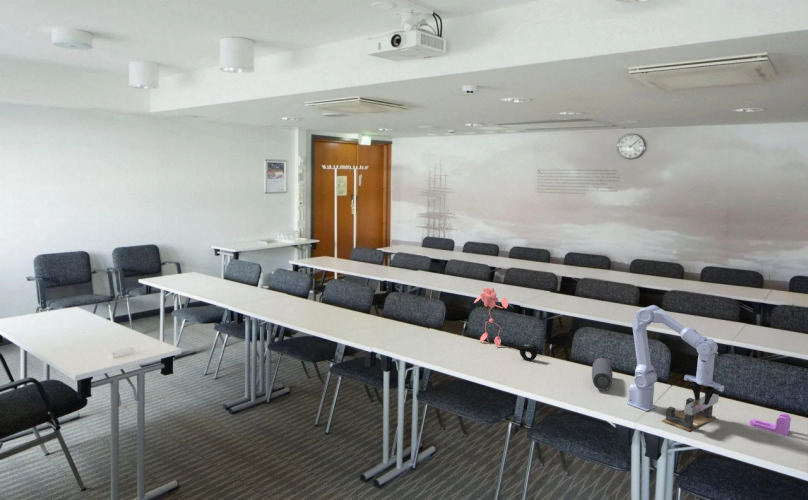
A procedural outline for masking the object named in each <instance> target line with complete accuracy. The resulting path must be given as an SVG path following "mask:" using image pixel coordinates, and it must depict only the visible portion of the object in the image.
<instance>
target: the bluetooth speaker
mask: <svg viewBox="0 0 808 500" xmlns="http://www.w3.org/2000/svg"><path fill="white" fill-rule="evenodd" d="M591 366H592V367H591V379H592V380H591V381H592V383H593V386H594V387H595V388H597V390H601V391H607V390H608V389H610V388H611V387H612V385H613V374H614V373H613V369H612V365H611V363H610V362H609V360H607V359H606V358H604V357H598V358H596V359H595V360H594V362H593V363H592V365H591Z"/></svg>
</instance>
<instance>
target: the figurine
mask: <svg viewBox="0 0 808 500" xmlns="http://www.w3.org/2000/svg"><path fill="white" fill-rule="evenodd" d="M482 291H483V292H481V293H480V295H479V296H477V298H476V299H475V300H474V302H473V304H476V303H477V302H479V300H481V301H482V302H483V306H484V307H486V308H487V307H489V309H488V312H489V313H488V314H489V316H490V317H489V320H488V321H485V323H484V324H485V325H484V326H485V327H484V329H485V330H484V331H485V332H484V333H482V335H481V336H480V337H479V342H480V343H483V342H484V341H485V340H487V342H488V343H489V342H490V340H489V337H488V334H489V333H488V332H487V323H488V322H489V323H490V324H492V323H494V324H495V325H496V326H498V327H500V325H499V324H498V323H496V322H494V318H493V317H492V316H491V311H490V310H492V309H493V308H494V307H497V308H500V309H507V308H508V306H509V300H508V298H507V297H506V296H503V298H502V299H501V302H500V303H501V305H502V306H501V305H496V303H498V302H499V298H498V297H497V293H496V292H495V288H493V287H492V288H490V287H488V286H487V287H483V288H482ZM500 332H501V328H499V330H498V335H497V336H495V338H494V344H495V347H496V348H498V347H499V346H500V347H501V346H502V344H501V342H502V340H501V337H500V336H499V335H500Z"/></svg>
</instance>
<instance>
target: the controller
mask: <svg viewBox="0 0 808 500" xmlns="http://www.w3.org/2000/svg"><path fill="white" fill-rule="evenodd" d="M515 349H517V350H518V351H519V355H520V356H521V358H522V359H523V360H525V361H530V362H531V361H533V360H535V359H536V358H537V356H538V354H539V347H538V346H536V342H531V343H530V344H524V343H516V346H515ZM526 352H529V353H530V357H529V356H528V355H527V353H526Z"/></svg>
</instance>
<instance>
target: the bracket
mask: <svg viewBox="0 0 808 500" xmlns="http://www.w3.org/2000/svg"><path fill="white" fill-rule="evenodd" d="M791 421H792V417H791V416H790V415H789V414H788V413H785V412H783V413H780V414H779V416H778V418H777V419H776V420H775V422H776V423H775V424H774V423H772V422H768V421H764V420H760V419H756V418H751V419H749V425H750V426H751V427H754V428H757V429H760V430H764V431H768V432H771V433H775V434H779V435H781V436H788V434H789V432H790V428H791Z"/></svg>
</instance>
